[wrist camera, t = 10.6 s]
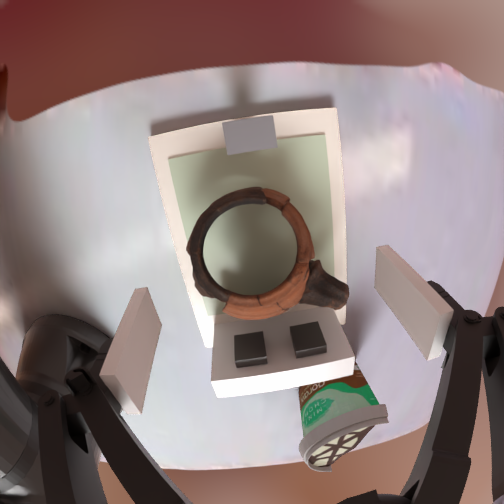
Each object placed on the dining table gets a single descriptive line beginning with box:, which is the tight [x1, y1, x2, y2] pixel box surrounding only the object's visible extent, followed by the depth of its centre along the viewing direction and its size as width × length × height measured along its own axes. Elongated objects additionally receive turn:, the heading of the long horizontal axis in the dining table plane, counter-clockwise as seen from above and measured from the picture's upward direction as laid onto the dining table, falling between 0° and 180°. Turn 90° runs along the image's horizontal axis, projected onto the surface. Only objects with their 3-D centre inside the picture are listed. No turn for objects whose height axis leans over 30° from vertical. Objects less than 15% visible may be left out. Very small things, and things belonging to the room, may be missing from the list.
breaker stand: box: [148, 108, 355, 398], centre depth 21 cm, size 14×20×8 cm
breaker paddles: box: [234, 321, 327, 368], centre depth 23 cm, size 7×1×3 cm, turn 99°
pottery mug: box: [186, 187, 349, 320], centre depth 22 cm, size 12×10×8 cm
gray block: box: [222, 115, 278, 155], centre depth 17 cm, size 2×2×8 cm
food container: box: [299, 362, 389, 472], centre depth 29 cm, size 12×6×10 cm, turn 161°
